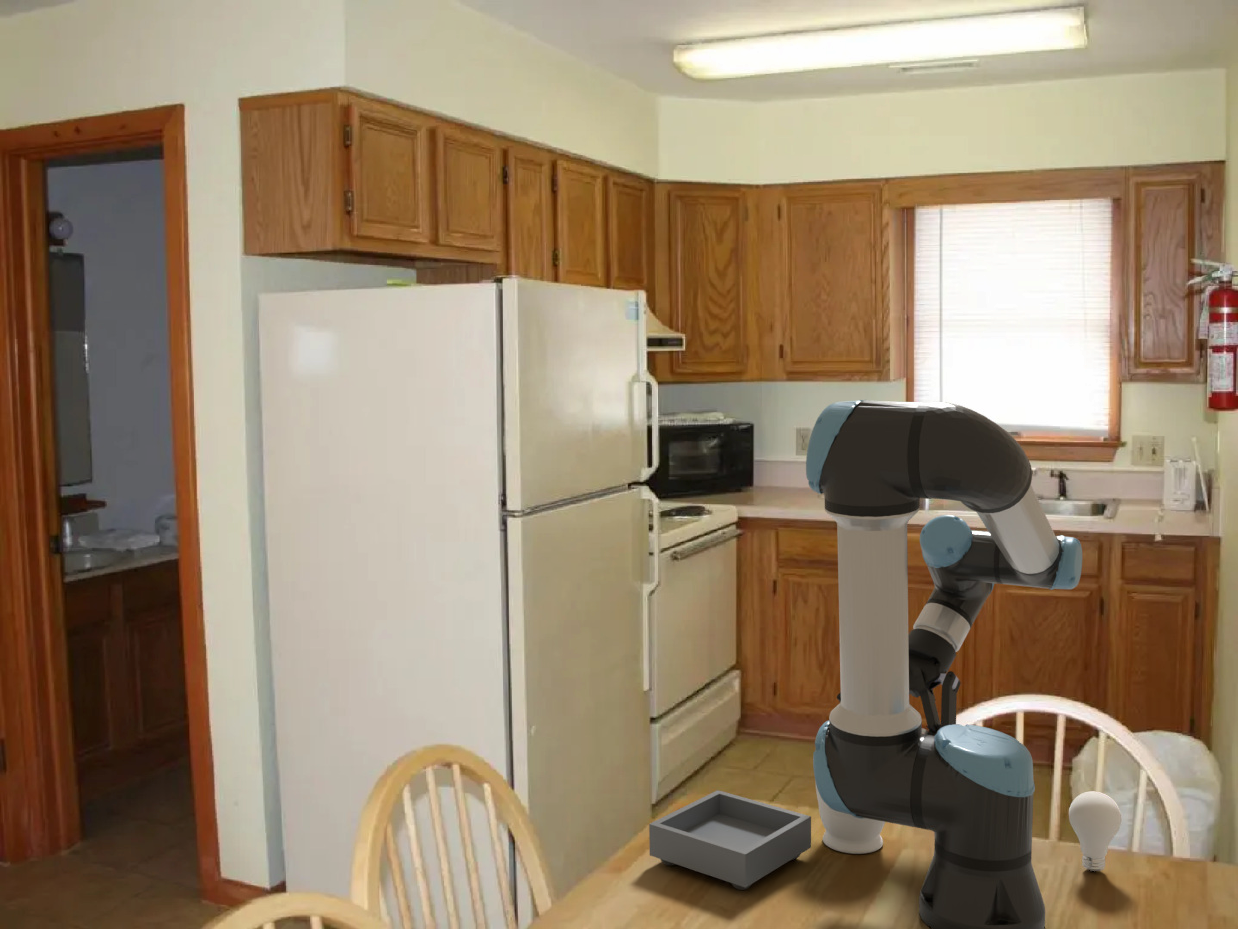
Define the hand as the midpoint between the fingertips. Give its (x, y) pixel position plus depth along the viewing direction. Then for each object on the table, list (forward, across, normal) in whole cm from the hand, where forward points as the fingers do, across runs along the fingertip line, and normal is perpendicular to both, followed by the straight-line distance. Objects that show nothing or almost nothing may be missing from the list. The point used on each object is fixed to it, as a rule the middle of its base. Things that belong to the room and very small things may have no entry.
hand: (869, 760), depth 182 cm
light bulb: (-1, -28, -17) cm, 33 cm away
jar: (+11, 0, -5) cm, 12 cm away
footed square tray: (+23, +6, +8) cm, 25 cm away
